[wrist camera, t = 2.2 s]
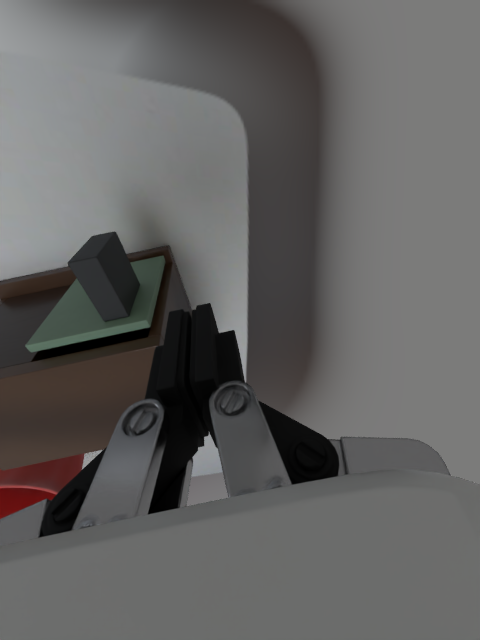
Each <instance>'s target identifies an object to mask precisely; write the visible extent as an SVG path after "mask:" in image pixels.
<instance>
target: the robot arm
mask: <svg viewBox="0 0 480 640" xmlns="http://www.w3.org/2000/svg"><path fill="white" fill-rule="evenodd" d="M209 432H210V435H211V437H212V439H213V441H214V443H215V446H216V447H217V448H218V451H219V456H220V460H221V465H222V470H223V474H224V479H225V484H226V489H227V493H228V498H226V499H220V500H216V501H211V502H206V503H201V504H196V505H191V506H186V505H187V499H188V492H189V486H190V480H191V474H192V467H193V458H192V457H193V456H194V455H195V453H196V452H197V451H198V447H202V446H204V437H205V436H208V435H209ZM0 640H480V485H479V484H477V483H474V482H470V481H468V480H465V479H462V478H458V477H454V476H451V475H450V473H449V471H448V469H447V467H446V464H445V462H444V461H443V460H442V458H441V457H440V455H439V454H438V453H437V452H436V451H435V450H434V449H433V448H432V447H430V446H429V445H427V444H425V443H423V442H421V441H418V440H414V439H407V438H370V437H368V438H367V437H341V439H340V440H332V439H327V438H325V437H324V436H323V435H321V434H319V433H317V432H315V431H313V430H311V429H310V428H308V427H306V426H304V425H302V424H300V423H299V422H297V421H295V420H293V419H291V418H290V417H288V416H286V415H284V414H282V413H280V412H279V411H277V410H275V409H273V408H271V407H269V406H267V405H266V404H264V403H262V402H260V401H258V399H257V397H256V394H255V392H254V390H253V389H252V387H251V386H250V385H248V384H247V383H245V381H244V375H243V369H242V364H241V358H240V353H239V349H238V344H237V340H236V336H235V332H234V330H232V331H227V332H223V333H219V332H218V328H217V325H216V321H215V318H214V314H213V311H212V307H211V304H210V303H208V304H203V305H198V306H197V307H196V310H192V318H191V315H190V312H189V311H187V312H185V311H184V309H180V310H175V311H170V312H169V315H168V321H167V327H166V333H165V339H164V344H163V345H161V346H157V347H156V348H155V351H154V356H153V360H152V365H151V370H150V375H149V380H148V385H147V390H146V395H145V399H143V400H140V401H138V402H136V403H134V404H132V405H131V406H130V407H128V408H127V409H126V410H125V411H124V413H123V414H122V415H121V417H120V419H119V421H118V423H117V425H116V428H115V430H114V432H113V435H112V437H111V439H110V442H109V444H108V446H107V447H106V448H105V449H104V450H103V451H102V452H101V453H100V454H99V455H97V456H96V457H95V458H94V459H93V460H92V461H91V462H90V463H89V464H88V465H87V466H86V467H85V468H84V469H83V470H81V471H80V472H79V473H78V474H77V475H76V476H75V477H74V478H73V479H72V480H71V481H70V482H69V483H68V484H66V485H65V486H64V487H63V488H62V489H61V490H60V491H59V492H58V493H57V495H56V496H55V497H54V498H53V499H52V500H49V499H47V498H46V499H44V500H42V501H40V502H37V503H35V504H33V505H31V506H28V507H26V508H24V509H22V510H19V511H17V512H15V513H13V514H10V515H8V516H6V517H4V518H1V519H0Z"/></svg>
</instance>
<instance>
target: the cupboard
mask: <svg viewBox="0 0 480 640" xmlns="http://www.w3.org/2000/svg"><path fill="white" fill-rule="evenodd" d="M126 255H127V257H128V259H129V261H130V262H135V261H139V260H144V259H149V258H154V257H158V256H164V258H165V266H164V270H163V274H162V279H161V283H160V287H159V292H158V296H157V301H156V305H155V309H154V314H153V318H152V322H151V327H149V328H144V329H139V330H135V331H130V332H125V333H121V334H116V335H111V336H106V337H102V338H97V339H92V340H88V341H83V342H78V343H74V344H69V345H64V346H59V347H55V348H50V349H45V350H41V351H36V352H30V351H29V350H28V349H27V348H26V347H25V345H26V344H27V342H28V341H29V340H30V339H31V337H32V336H33V335H34V333H35V332H36V331H37V329H38V328H39V327H40V325H41V324H42V323H43V322H44V320H45V319H46V318H47V316H48V315H49V314H50V312H51V311H52V310H53V309H54V307H55V306H56V305H57V303H58V302H59V301H60V299H61V298H62V297H63V295H64V294H65V293H66V292H67V290H68V289H69V288H70V286H71V285H72V284H73V282H74V281H75V280H76V279H77V278H76V276H75V275H74V273H73V271H72V270H71V268H70V267H65V268H60V269H56V270H51V271H46V272H41V273H37V274H32V275H27V276H23V277H18V278H13V279H9V280H4V281H0V469H1V470H3V471H4V470H8V469H13V468H18V467H22V466H27V465H32V464H37V463H41V462H46V461H51V460H55V459H60V458H65V457H70V456H74V455H79V454H84V453H88V452H93V451H98V450H103V449H105V448H106V447H107V446H108V444H109V442H110V439H111V437H112V435H113V432H114V430H115V428H116V425H117V423H118V421H119V419H120V417H121V415H122V414H123V413H124V411H125V410H126V409H127V408H128V407H130V406H131V405H132V404H134V403H136V402H138V401H140V400H143V399H145V395H146V390H147V385H148V380H149V375H150V370H151V365H152V360H153V356H154V351H155V348H156V347H157V346H161V345H163V344H164V339H165V333H166V327H167V321H168V315H169V312H170V311H175V310H180V309H184V311H185V312H187V311H189V312H190V315H191V318H192V309H191V306H190V304H189V301H188V298H187V295H186V292H185V289H184V286H183V283H182V281H181V278H180V275H179V272H178V269H177V266H176V263H175V261H174V258H173V255H172V252H171V249H170V246H164V247H159V248H154V249H150V250H145V251H140V252H136V253H131V254H126Z"/></svg>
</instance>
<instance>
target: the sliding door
mask: <svg viewBox="0 0 480 640" xmlns="http://www.w3.org/2000/svg"><path fill="white" fill-rule="evenodd" d="M68 265H69V267H70V268H71V270H72V271H73V273H74V275H75V276H76V278H77V279H76V280H75V281H74V282H73V284H72V285H71V286H70V288H69V289H68V290H67V292H66V293H65V294H64V295H63V297H62V298H61V299H60V301H59V302H58V303H57V305H56V306H55V307H54V309H53V310H52V311H51V312H50V314H49V315H48V316H47V318H46V319H45V320H44V322H43V323H42V324H41V325H40V327H39V328H38V329H37V331H36V332H35V333H34V335H33V336H32V337H31V339H30V340H29V341H28V342H27V344H26V345H25V347H26V348H27V349H28V350H29V351H30V352H36V351H41V350H45V349H50V348H55V347H59V346H64V345H69V344H74V343H78V342H83V341H88V340H92V339H97V338H102V337H106V336H111V335H116V334H121V333H125V332H130V331H135V330H139V329H144V328H149V327H151V322H152V318H153V314H154V309H155V305H156V301H157V296H158V292H159V287H160V283H161V279H162V274H163V270H164V266H165V258H164V256H158V257H154V258H149V259H144V260H139V261H135V262H130V261H129V259H128V257H127V255H126V253H125V251H124V249H123V246H122V244H121V242H120V240H119V238H118V236H117V234H116V232H110V233H105V234H100V235H96V236H92V237H91V238H90V239H89V240H88V241H87V242H86V243H85V244H84V246H83V247H82V248H81V249H80V250H79V251H78V252H77V253H76V254H75V255H74V256H73V258H72V259H71V260H70V261H69V262H68Z"/></svg>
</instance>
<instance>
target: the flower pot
mask: <svg viewBox="0 0 480 640" xmlns="http://www.w3.org/2000/svg"><path fill="white" fill-rule="evenodd" d="M83 459H84V454H79V455H74V456H70V457H65V458H60V459H55V460H51V461H46V462H41V463H37V464H32V465H27V466H22V467H18V468H13V469H8V470H4V471H3V470H1V469H0V519H1V518H4V517H6V516H8V515H10V514H13V513H15V512H17V511H19V510H22V509H24V508H26V507H28V506H31V505H33V504H35V503H37V502H40V501H42V500H44V499H46V498H47V499H49V500H52V499H53V498H54V497H55V496H56V495H57V493H58V492H59V491H60V490H61V489H62V488H63V487H64V486H65V485H66V484H68V483H69V482H70V481H71V480H72V479H73V478H74V477H75V476H76V475H77V474H78V473H79V472H80V471H81V470H82V465H83Z"/></svg>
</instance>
